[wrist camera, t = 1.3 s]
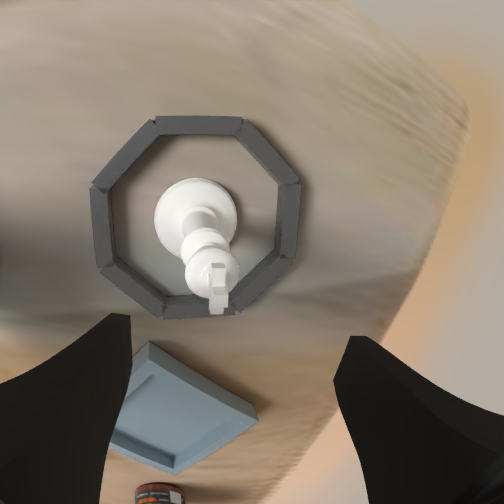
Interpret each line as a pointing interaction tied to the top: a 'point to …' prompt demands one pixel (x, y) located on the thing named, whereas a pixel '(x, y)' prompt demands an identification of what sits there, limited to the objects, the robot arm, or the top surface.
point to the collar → (250, 283)
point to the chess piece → (201, 236)
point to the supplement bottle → (159, 494)
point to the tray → (175, 414)
